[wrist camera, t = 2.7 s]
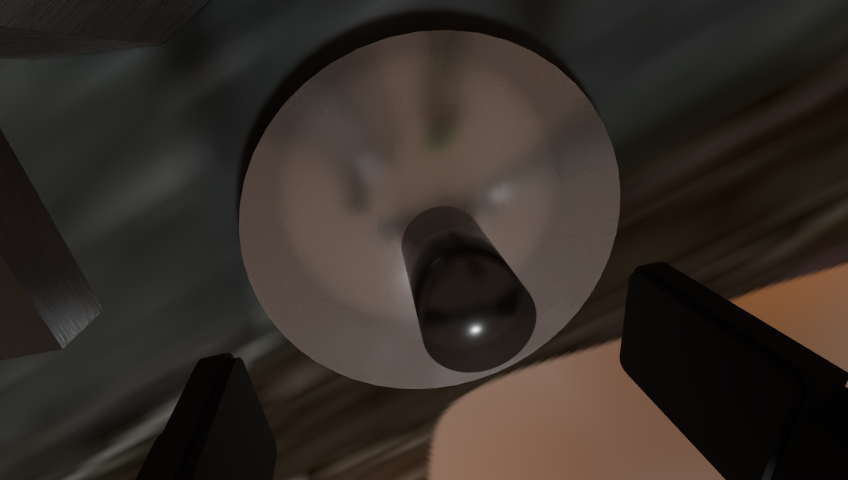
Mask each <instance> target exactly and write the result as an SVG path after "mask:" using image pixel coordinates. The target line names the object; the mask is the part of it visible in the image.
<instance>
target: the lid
mask: <svg viewBox="0 0 848 480" xmlns="http://www.w3.org/2000/svg"><path fill="white" fill-rule="evenodd" d="M619 210H620V184H619V173H618V166H617V162H616V158H615V154H614V150H613V146H612V143H611V141H610V138H609V136H608V133H607V131H606V128H605V126H604V124H603V122H602V120H601V119H600V117H599V115H598V113H597V112H596V110H595V108H594V107H593V105H592V103H591V102H590V101H589V100H588V98H587V97H586V96H585V95H584V93H583V92H582V91H581V90H580V89H579V87H578V86H577V85H576V84H575V83H574V82H573V81H572V80H571V79H570V78H569V77H567V76H566V75H565V74H564V73H563V72H562V71H561V70H560V69H558V68H557V67H556V66H555V65H553V64H552V63H550V62H548V61H547V60H545V59H544V58H542V57H541V56H539V55H538V54H536V53H534V52H533V51H531V50H528V49H526V48H524V47H521V46H519V45H517V44H514V43H512V42H510V41H508V40H504V39H500V38H496V37H493V36H489V35H485V34H481V33H475V32H465V31H455V30H437V31H418V32H413V33H408V34H403V35H398V36H393V37H388V38H386V39H383V40H380V41H377V42H374V43H372V44H369V45H366V46H363V47H361V48H358V49H356V50H354V51H353V52H351V53H349V54H347V55H345V56H343V57H341V58H340V59H338V60H336V61H334V62H332V63H330V64H329V65H328V66H326V67H325V68H324V69H322V70H321V71H320V72H318V73H317V74H316V75H314V76H313V77H312V78H310V79H309V80H308V81H306V82H305V83H304V84H303V85H302V86H301V87H300V88H299V89H298V90H297V91H296V92H295V93H294V94H293V95H292V96H291V97H290V98H289V99H288V100H287V101H286V102H285V103H284V105H283V106H282V108H281V109H280V110H279V112H278V113H277V114H276V116H275V117H274V118H273V120H272V121H271V122H270V124H269V125H268V127H267V128H266V130H265V132H264V134H263V136H262V138H261V140H260V141H259V143H258V145H257V147H256V149H255V151H254V153H253V156H252V159H251V162H250V165H249V167H248V170H247V173H246V176H245V179H244V185H243V190H242V195H241V201H240V213H239V235H240V243H241V252H242V257H243V261H244V264H245V268H246V272H247V275H248V279H249V281H250V283H251V285H252V288H253V290H254V292H255V294H256V297H257V299H258V301H259V302H260V304H261V305H262V307H263V309H264V310H265V312H266V313H267V315H268V317H269V318H270V319H271V321H272V322H273V323H274V324H275V325H276V327H277V328H278V329H279V330H280V331H281V333H282V334H283V335H284V336H285V337H286V338H287V339H288V340H289V341H291V342H292V343H293V344H294V345H295V346H296V347H297V348H298V349H299V350H301V351H302V352H303V353H305V354H306V355H308V356H309V357H311V358H312V359H313V360H315V361H316V362H318V363H320V364H322V365H324V366H325V367H327V368H329V369H331V370H333V371H335V372H337V373H340V374H342V375H345V376H347V377H350V378H352V379H355V380H359V381H362V382H366V383H370V384H374V385H379V386H386V387H392V388H406V389H425V388H439V387H445V386H451V385H458V384H461V383H465V382H469V381H473V380H477V379H480V378H482V377H485V376H488V375H491V374H493V373H496V372H498V371H500V370H502V369H504V368H506V367H509V366H511V365H513V364H515V363H516V362H518V361H520V360H521V359H523V358H525V357H526V356H528V355H530V354H531V353H533V352H534V351H536V350H537V349H538V348H540V347H541V346H542V345H544V344H545V343H546V342H548V341H549V340H550V339H551V338H552V337H553V336H554V335H556V334H557V333H558V332H559V331H560V330H561V329H562V328H563V327H564V326H565V325H566V324H567V323H568V322H569V321H570V320H571V318H572V317H573V316H574V315H575V314H576V313H577V312H578V311H579V309H580V308H581V306H582V305H583V304H584V302H585V301H586V300H587V298H588V297H589V295H590V294H591V292H592V290H593V289H594V287H595V285H596V283H597V282H598V280H599V278H600V276H601V274H602V272H603V270H604V268H605V265H606V263H607V261H608V258H609V256H610V253H611V249H612V246H613V242H614V239H615V236H616V230H617V224H618V219H619Z"/></svg>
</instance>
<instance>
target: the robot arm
mask: <svg viewBox="0 0 848 480" xmlns="http://www.w3.org/2000/svg"><path fill="white" fill-rule="evenodd" d="M620 363H621V365H622V367H623V369H624V371H625V372H626V373H627V374H628V375H629V376H630V377H631V379H633V381H634V382H635V383H636V384H637V385H638V386H639V387H640V388H641V389H642V390H643V391H644V392H645V394H646V395H647V396H648V397H649V398H650V399H651V400H652V401H653V402H654V403H655V404H656V405H657V406H658V408H659V409H660V410H661V411H662V412H663V413H664V414H665V415H666V416H667V417H668V418H669V419H670V420H671V422H672V423H673V424H674V425H675V426H676V427H677V428H678V429H679V430H680V431H681V432H682V433H683V434H684V435H685V437H686V438H687V439H688V440H689V441H690V442H691V443H692V444H693V445H694V446H695V447H696V448H697V449H698V450H699V452H700V453H701V454H702V455H703V456H704V457H705V458H706V459H707V460H708V461H709V462H710V463H711V464H712V465H713V467H714V468H715V469H716V470H717V471H718V472H719V473H720V474H721V475H722V476H723V477H724V478H725V479H726V480H848V388H846V387H845V385H846V383H847V381H848V372H846V371H844V370H843V369H841V368H839V367H838V366H836V365H834V364H833V363H831V362H829V361H828V360H826V359H824V358H823V357H821V356H819V355H818V354H816V353H814V352H813V351H811V350H809V349H808V348H806V347H804V346H803V345H801V344H799V343H798V342H796V341H794V340H793V339H791V338H789V337H788V336H786V335H784V334H783V333H781V332H779V331H778V330H776V329H775V328H773V327H771V326H770V325H768V324H766V323H765V322H763V321H761V320H760V319H758V318H756V317H755V316H753V315H751V314H750V313H748V312H746V311H745V310H743V309H741V308H740V307H738V306H736V305H735V304H733V303H731V302H730V301H728V300H726V299H725V298H723V297H721V296H720V295H718V294H716V293H715V292H713V291H712V290H710V289H708V288H707V287H705V286H703V285H702V284H700V283H698V282H697V281H695V280H693V279H692V278H690V277H688V276H687V275H685V274H683V273H682V272H680V271H678V270H677V269H675V268H673V267H672V266H670V265H668V264H667V263H664V262H655V263H651V264H646V265H641V266H638V267H636V269H635V270H634V273H633V274H631V275H630V278H629V283H628V292H627V300H626V308H625V316H624V325H623V333H622V341H621V350H620ZM276 456H277V448H276V442H275V439H274V436H273V434H272V431H271V429H270V426H269V424H268V421H267V419H266V416H265V414H264V411H263V409H262V407H261V404H260V402H259V399H258V397H257V394H256V392H255V389H254V387H253V384H252V382H251V379H250V377H249V375H248V372H247V370H246V367H245V365H244V362H243V360H242V359H241V358H239V357H238V358H234V357H233V355H232V354H230V353H225V354H220V355H215V356H210V357H206V358H202V359H200V360H199V361H198V363H197V364H196V366H195V368H194V370H193V372H192V374H191V376H190V378H189V380H188V382H187V384H186V386H185V388H184V390H183V392H182V394H181V397H180V399H179V401H178V403H177V405H176V407H175V409H174V411H173V413H172V415H171V417H170V419H169V421H168V423H167V425H166V427H165V429H164V431H163V433H162V434H161V435H159V436H158V438H157V439H156V441H155V442H154V444H153V446H152V448H151V450H150V452H149V454H148V456H147V458H146V460H145V462H144V464H143V466H142V468H141V470H140V472H139V474H138V476H137V478H136V480H273V475H274V469H275V463H276Z"/></svg>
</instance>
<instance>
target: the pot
mask: <svg viewBox="0 0 848 480" xmlns="http://www.w3.org/2000/svg"><path fill="white" fill-rule="evenodd" d="M208 1H209V0H0V59H29V60H34V59H43V58H51V57H60V56H68V55H76V54H85V53H93V52H101V51H110V50H118V49H127V48H135V47H143V46H152V45H160V44H162V43H165V42H166V41H167V40H168V39H169V38H170V37H171V36H172V35H174V34H175V33H176V32H177V31H178V30H179V29H180V28H181V27H182V26H183V25H184V24H185V23H186V22H187V21H188V20H189V19H190V18H191V17H193V16H194V15H195V14H196V13H197V12H198V11H199V10H200V9H201V8H202V7H203V6H204V5H205V4H206V3H207V2H208ZM102 310H103V308H102V307H101V305H100V303H99V301H98V299H97V298H96V296H95V294H94V292H93V291H92V289H91V287H90V285H89V284H88V282H87V280H86V278H85V277H84V275H83V273H82V271H81V270H80V268H79V266H78V264H77V263H76V261H75V259H74V257H73V256H72V254H71V252H70V250H69V248H68V247H67V245H66V243H65V241H64V240H63V238H62V236H61V234H60V233H59V231H58V229H57V227H56V226H55V224H54V222H53V220H52V219H51V217H50V215H49V213H48V212H47V210H46V208H45V206H44V205H43V203H42V201H41V199H40V198H39V196H38V194H37V192H36V190H35V189H34V187H33V185H32V183H31V182H30V180H29V178H28V176H27V175H26V173H25V171H24V169H23V168H22V166H21V164H20V162H19V161H18V159H17V157H16V155H15V154H14V152H13V150H12V148H11V147H10V145H9V143H8V141H7V139H6V138H5V136H4V134H3V132H2V131H1V129H0V360H4V359H10V358H15V357H21V356H26V355H32V354H37V353H43V352H48V351H54V350H59V349H63V348H64V347H65V346H66V345H67V344H68V343H69V342H70V341H71V340H72V339H73V338H74V337H76V336H77V335H78V334H79V333H80V332H81V331H82V330H83V329H84V328H85V327H86V326H87V325H88V324H89V323H90V322H91V321H92V320H93V319H94V318H95V317H96V316H97V315H98V314H99V313H100V312H101V311H102Z"/></svg>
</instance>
